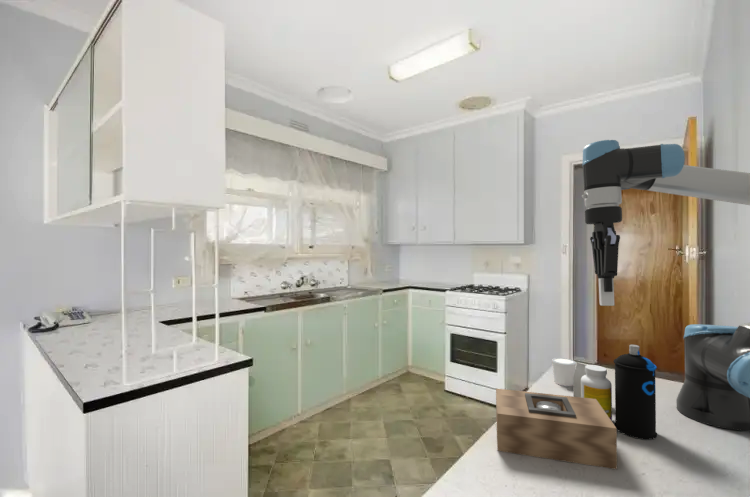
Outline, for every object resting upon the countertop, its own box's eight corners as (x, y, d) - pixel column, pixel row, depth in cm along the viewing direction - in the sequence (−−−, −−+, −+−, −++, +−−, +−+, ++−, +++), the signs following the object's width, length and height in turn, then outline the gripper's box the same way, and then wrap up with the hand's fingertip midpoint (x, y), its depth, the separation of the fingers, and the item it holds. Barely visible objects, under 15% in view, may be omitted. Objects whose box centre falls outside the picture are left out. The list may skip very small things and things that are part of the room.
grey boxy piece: (598, 407, 96) (597, 370, 96) (573, 398, 102) (573, 363, 102) (605, 404, 98) (605, 367, 98) (581, 395, 104) (580, 361, 104)
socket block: (596, 433, 83) (595, 396, 83) (616, 469, 69) (616, 425, 69) (496, 420, 89) (496, 386, 89) (497, 450, 76) (497, 410, 76)
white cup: (581, 386, 110) (580, 364, 110) (559, 387, 110) (558, 364, 110) (568, 378, 117) (568, 357, 117) (547, 378, 117) (547, 357, 117)
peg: (559, 437, 81) (559, 402, 81) (563, 449, 76) (563, 412, 76) (535, 434, 82) (535, 399, 82) (538, 445, 78) (537, 409, 78)
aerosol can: (611, 431, 83) (610, 346, 83) (617, 418, 90) (616, 339, 89) (655, 444, 78) (654, 353, 78) (659, 429, 84) (658, 345, 84)
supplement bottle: (617, 426, 86) (616, 373, 86) (586, 424, 87) (586, 371, 87) (605, 413, 92) (604, 364, 92) (577, 411, 94) (576, 362, 94)
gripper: (577, 210, 93) (581, 301, 93) (593, 205, 80) (598, 309, 80) (610, 208, 91) (614, 301, 91) (632, 202, 78) (636, 309, 78)
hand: (607, 305), depth 85 cm, fingers closed
